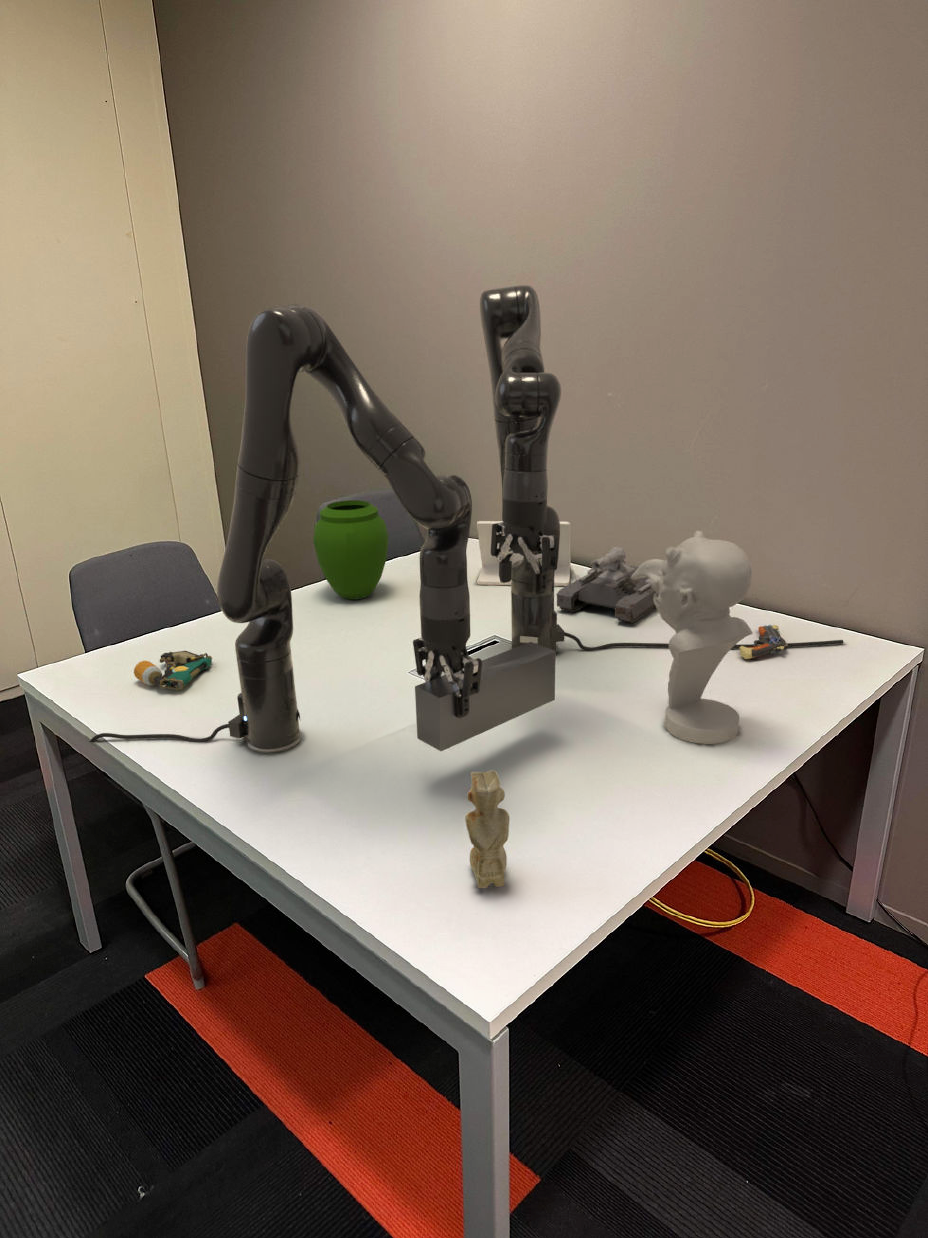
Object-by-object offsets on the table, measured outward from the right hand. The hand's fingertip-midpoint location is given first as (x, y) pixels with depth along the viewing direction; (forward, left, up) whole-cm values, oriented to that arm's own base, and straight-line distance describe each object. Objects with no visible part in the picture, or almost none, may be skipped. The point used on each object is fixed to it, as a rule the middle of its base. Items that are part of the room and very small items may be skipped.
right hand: (522, 587), depth 149 cm
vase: (+24, -80, -26) cm, 87 cm away
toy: (-39, -54, -26) cm, 71 cm away
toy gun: (-60, -21, -26) cm, 68 cm away
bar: (+9, +13, -18) cm, 24 cm away
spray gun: (+66, -37, -26) cm, 80 cm away
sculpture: (+16, +43, -26) cm, 53 cm away
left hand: (+17, +18, -13) cm, 28 cm away
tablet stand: (-23, -84, -26) cm, 91 cm away
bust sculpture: (-28, +8, -26) cm, 39 cm away
